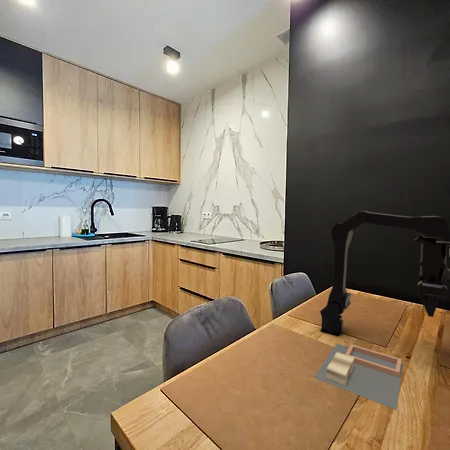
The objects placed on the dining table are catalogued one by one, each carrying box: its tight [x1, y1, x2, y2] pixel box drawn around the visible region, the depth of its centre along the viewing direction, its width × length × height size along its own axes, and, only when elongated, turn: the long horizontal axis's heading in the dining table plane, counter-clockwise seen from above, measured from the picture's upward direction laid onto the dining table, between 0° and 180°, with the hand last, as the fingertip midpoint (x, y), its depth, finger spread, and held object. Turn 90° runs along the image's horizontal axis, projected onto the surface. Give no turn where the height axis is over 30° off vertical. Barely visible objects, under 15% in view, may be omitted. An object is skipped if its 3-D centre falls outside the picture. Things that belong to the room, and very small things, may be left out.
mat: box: [313, 343, 404, 411], centre depth 70 cm, size 18×22×1 cm
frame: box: [345, 343, 402, 377], centre depth 74 cm, size 13×8×1 cm, turn 52°
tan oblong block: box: [326, 352, 354, 385], centre depth 69 cm, size 10×5×3 cm, turn 142°
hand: (430, 311), depth 75 cm, fingers open, 9 cm apart
